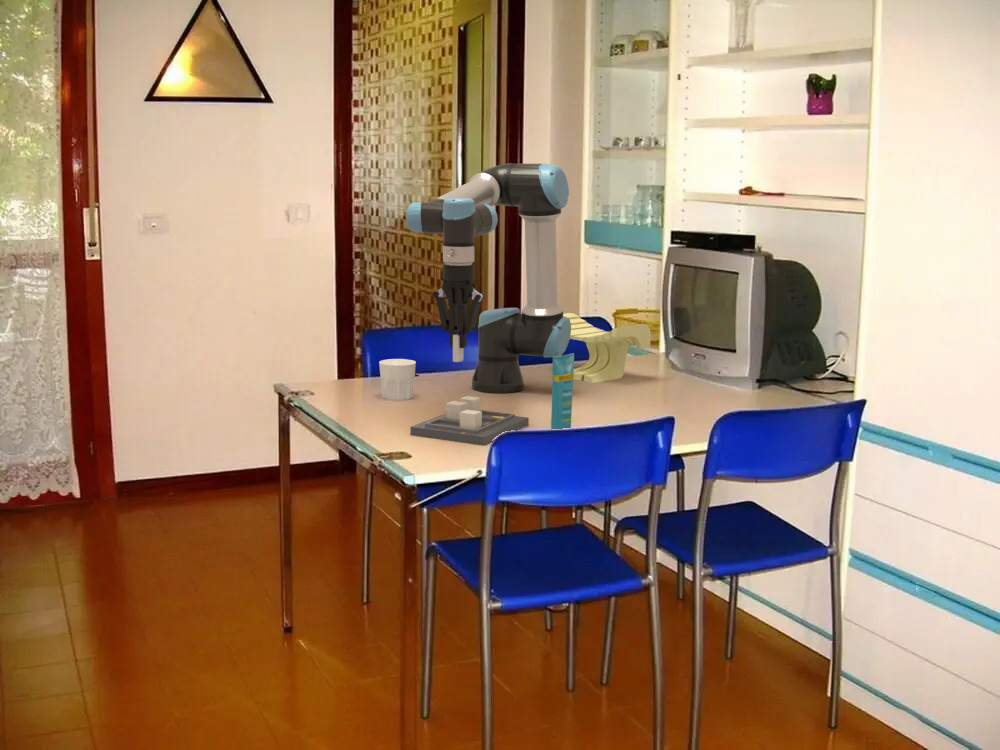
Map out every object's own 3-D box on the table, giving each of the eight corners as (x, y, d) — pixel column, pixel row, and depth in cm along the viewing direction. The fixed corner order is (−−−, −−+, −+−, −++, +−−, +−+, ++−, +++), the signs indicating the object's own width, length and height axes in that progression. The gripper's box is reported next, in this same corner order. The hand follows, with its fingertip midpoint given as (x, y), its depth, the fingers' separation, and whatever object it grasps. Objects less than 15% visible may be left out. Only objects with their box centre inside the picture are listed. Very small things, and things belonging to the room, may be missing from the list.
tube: (559, 435, 285) (561, 357, 281) (544, 432, 288) (546, 355, 284) (578, 430, 290) (580, 354, 287) (562, 427, 293) (564, 351, 290)
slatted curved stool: (648, 381, 356) (651, 322, 353) (614, 387, 345) (616, 327, 342) (575, 367, 378) (577, 312, 374) (541, 372, 367) (542, 316, 363)
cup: (421, 399, 324) (422, 363, 323) (389, 402, 319) (389, 366, 317) (405, 392, 333) (405, 357, 331) (373, 395, 328) (373, 360, 326)
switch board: (410, 434, 283) (410, 423, 282) (458, 416, 304) (458, 405, 304) (484, 445, 274) (484, 433, 274) (528, 425, 295) (528, 414, 295)
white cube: (459, 428, 280) (459, 412, 279) (466, 425, 283) (467, 409, 283) (474, 430, 278) (474, 414, 278) (481, 427, 282) (481, 411, 281)
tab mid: (445, 419, 290) (446, 403, 289) (453, 416, 293) (453, 400, 292) (460, 421, 288) (460, 405, 287) (467, 418, 291) (467, 402, 290)
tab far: (459, 414, 296) (459, 398, 295) (466, 411, 299) (466, 396, 298) (473, 415, 294) (473, 400, 293) (480, 413, 297) (480, 397, 297)
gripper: (426, 263, 279) (427, 361, 284) (475, 266, 274) (475, 366, 278) (442, 260, 286) (441, 356, 290) (490, 263, 280) (489, 360, 285)
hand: (458, 360), depth 284 cm, fingers closed
